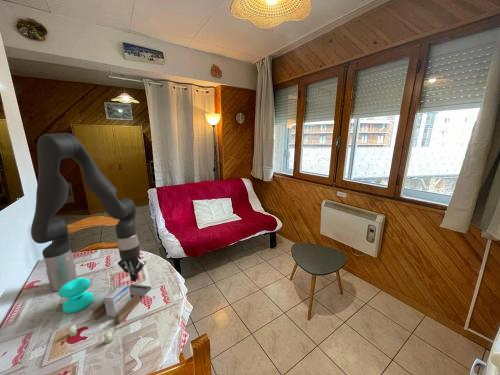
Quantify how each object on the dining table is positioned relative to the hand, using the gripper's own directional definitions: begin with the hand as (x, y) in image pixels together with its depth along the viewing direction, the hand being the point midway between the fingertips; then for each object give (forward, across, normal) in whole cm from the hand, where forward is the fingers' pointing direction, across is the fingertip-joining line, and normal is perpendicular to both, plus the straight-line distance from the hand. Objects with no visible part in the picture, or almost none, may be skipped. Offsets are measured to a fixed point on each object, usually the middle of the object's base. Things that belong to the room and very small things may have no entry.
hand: (134, 280), depth 89 cm
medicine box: (+7, 0, -9) cm, 11 cm away
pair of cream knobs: (+6, 0, -22) cm, 23 cm away
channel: (+6, 0, -10) cm, 12 cm away
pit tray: (+6, 0, 0) cm, 6 cm away
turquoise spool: (+6, -19, -10) cm, 23 cm away
